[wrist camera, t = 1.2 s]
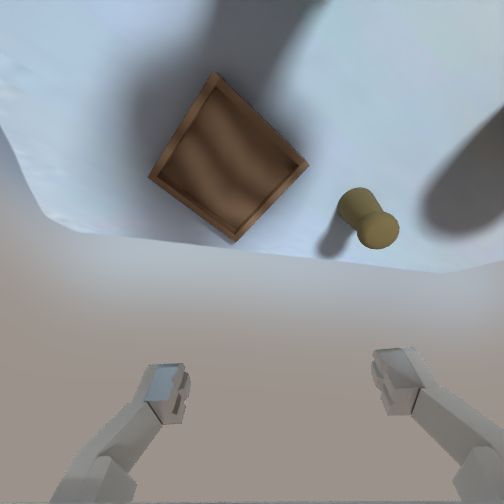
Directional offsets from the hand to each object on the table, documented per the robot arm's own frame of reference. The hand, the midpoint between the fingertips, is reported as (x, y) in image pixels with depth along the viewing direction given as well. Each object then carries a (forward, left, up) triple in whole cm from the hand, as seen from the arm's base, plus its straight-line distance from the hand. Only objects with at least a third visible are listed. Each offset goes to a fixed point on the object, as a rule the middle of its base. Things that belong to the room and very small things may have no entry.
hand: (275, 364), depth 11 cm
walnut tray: (+4, -5, -34) cm, 34 cm away
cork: (-5, +15, -34) cm, 38 cm away
